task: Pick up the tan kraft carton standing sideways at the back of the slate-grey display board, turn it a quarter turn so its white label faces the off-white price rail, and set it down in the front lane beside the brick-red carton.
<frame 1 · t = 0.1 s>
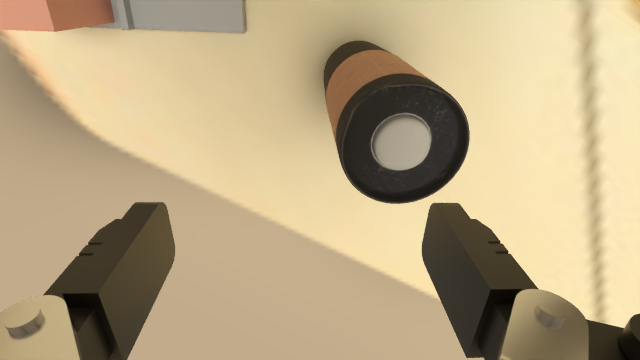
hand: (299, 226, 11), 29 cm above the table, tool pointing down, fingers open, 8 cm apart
travel mug: (356, 75, 38), on the table
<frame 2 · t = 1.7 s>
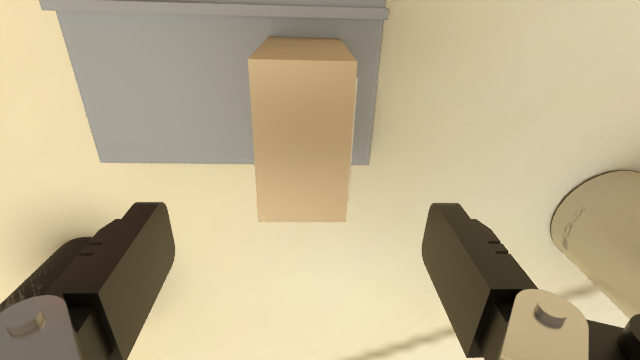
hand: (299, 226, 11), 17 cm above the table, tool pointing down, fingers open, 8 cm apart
kraft carton: (303, 99, 24), point 1 cm above the table, touching shelf board
shelf board: (229, 32, 23), on the table
travel mug: (99, 266, 32), on the table
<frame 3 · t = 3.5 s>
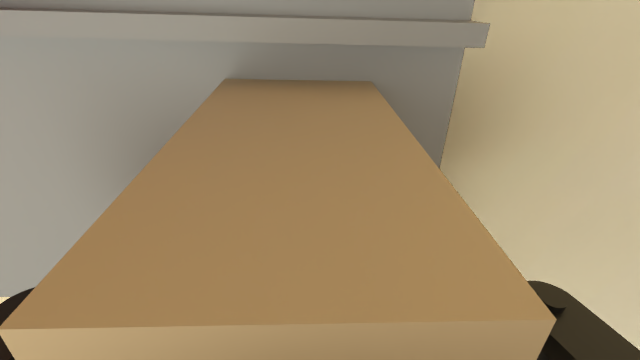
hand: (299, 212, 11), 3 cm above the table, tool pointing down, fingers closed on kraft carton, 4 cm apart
kraft carton: (298, 192, 13), point 2 cm above the table, touching gripper, shelf board
shelf board: (151, 67, 12), on the table
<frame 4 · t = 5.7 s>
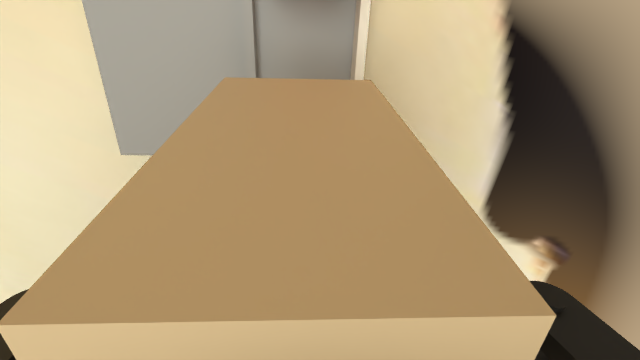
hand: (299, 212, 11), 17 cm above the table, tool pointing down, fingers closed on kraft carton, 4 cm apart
kraft carton: (298, 191, 13), point 16 cm above the table, touching gripper
shelf board: (231, 15, 24), on the table
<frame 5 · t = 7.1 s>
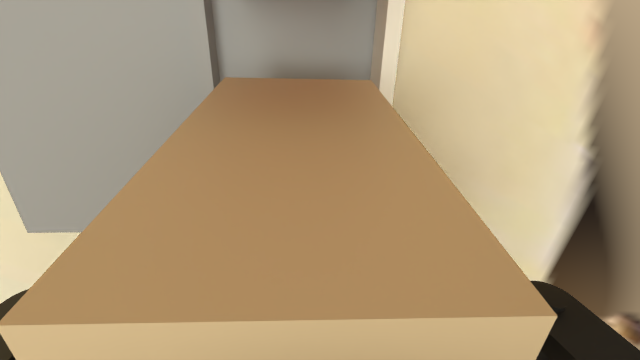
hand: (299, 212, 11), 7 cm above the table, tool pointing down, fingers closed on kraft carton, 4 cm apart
kraft carton: (298, 191, 13), point 6 cm above the table, touching gripper
shelf board: (180, 26, 15), on the table
when the fingers open (4 cm above the table, at t = 8.1 s): kraft carton drops 1 cm, resting on shelf board.
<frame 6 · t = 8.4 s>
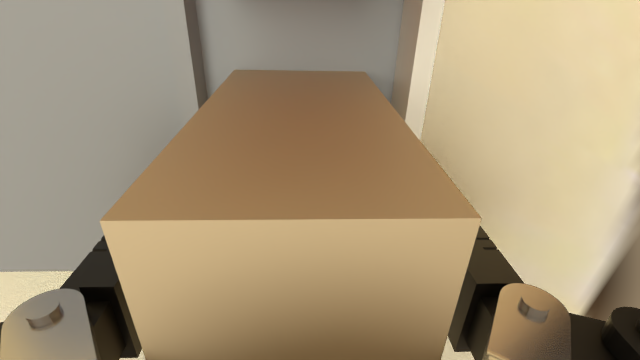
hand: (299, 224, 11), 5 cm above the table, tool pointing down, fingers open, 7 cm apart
kraft carton: (300, 173, 14), point 1 cm above the table, touching shelf board
shelf board: (159, 31, 13), on the table
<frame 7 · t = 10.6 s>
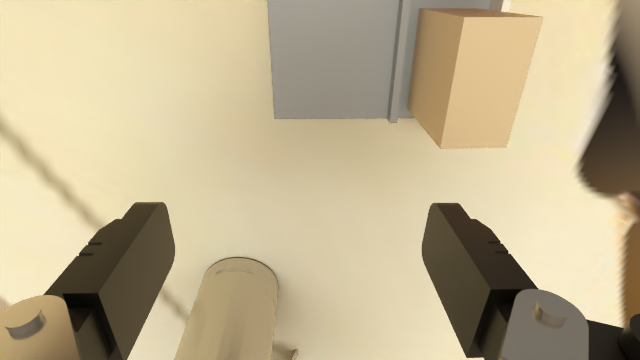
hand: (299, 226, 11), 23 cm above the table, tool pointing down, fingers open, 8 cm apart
kraft carton: (439, 61, 29), point 1 cm above the table, touching shelf board
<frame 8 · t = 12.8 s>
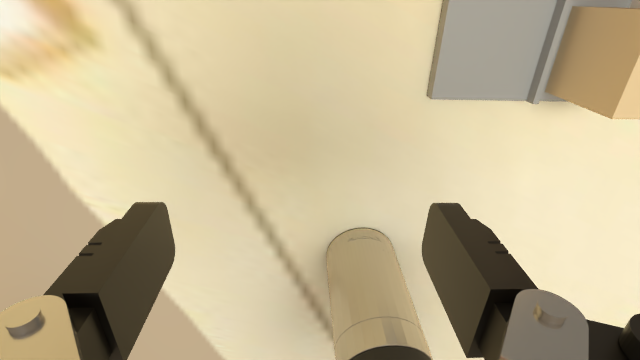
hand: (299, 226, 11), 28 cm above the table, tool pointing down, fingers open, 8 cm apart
kraft carton: (579, 51, 35), point 1 cm above the table, touching shelf board
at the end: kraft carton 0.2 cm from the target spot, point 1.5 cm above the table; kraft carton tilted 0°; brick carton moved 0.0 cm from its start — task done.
